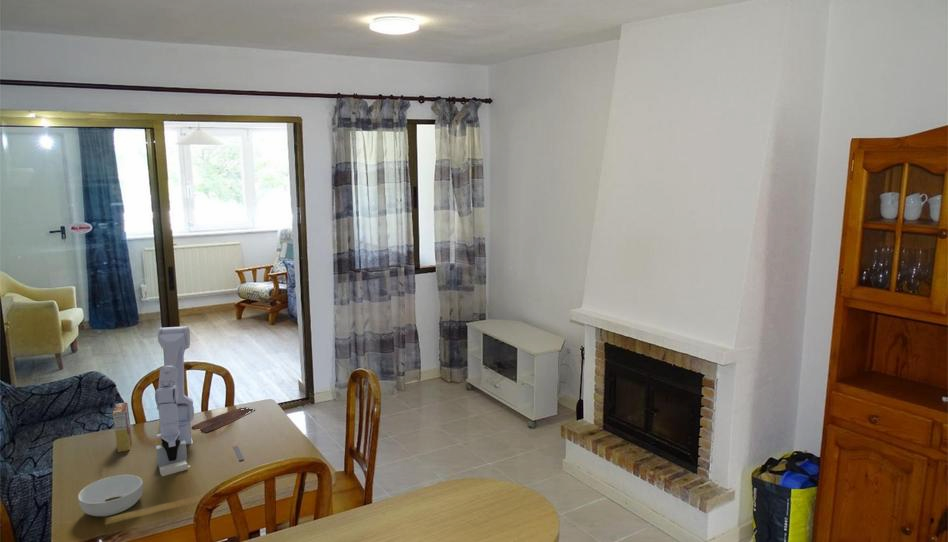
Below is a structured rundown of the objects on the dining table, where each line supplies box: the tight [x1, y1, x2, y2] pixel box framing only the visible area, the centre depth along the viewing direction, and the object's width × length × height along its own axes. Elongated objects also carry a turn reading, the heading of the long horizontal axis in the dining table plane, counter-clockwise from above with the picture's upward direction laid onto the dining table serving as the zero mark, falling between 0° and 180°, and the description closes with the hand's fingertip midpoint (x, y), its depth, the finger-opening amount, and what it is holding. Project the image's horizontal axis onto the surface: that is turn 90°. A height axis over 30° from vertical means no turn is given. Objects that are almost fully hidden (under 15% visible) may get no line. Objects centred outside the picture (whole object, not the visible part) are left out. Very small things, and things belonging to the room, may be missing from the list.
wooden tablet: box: [191, 407, 253, 434], centre depth 259 cm, size 26×2×10 cm
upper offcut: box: [158, 460, 189, 477], centre depth 213 cm, size 3×8×2 cm, turn 128°
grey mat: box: [232, 445, 245, 462], centre depth 226 cm, size 12×12×1 cm
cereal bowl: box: [77, 474, 144, 517], centre depth 192 cm, size 17×17×7 cm
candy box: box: [112, 402, 133, 453], centre depth 233 cm, size 9×4×15 cm, turn 23°
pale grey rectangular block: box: [155, 441, 188, 468], centre depth 219 cm, size 2×9×8 cm, turn 119°
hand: (172, 458), depth 219 cm, fingers open, 3 cm apart
